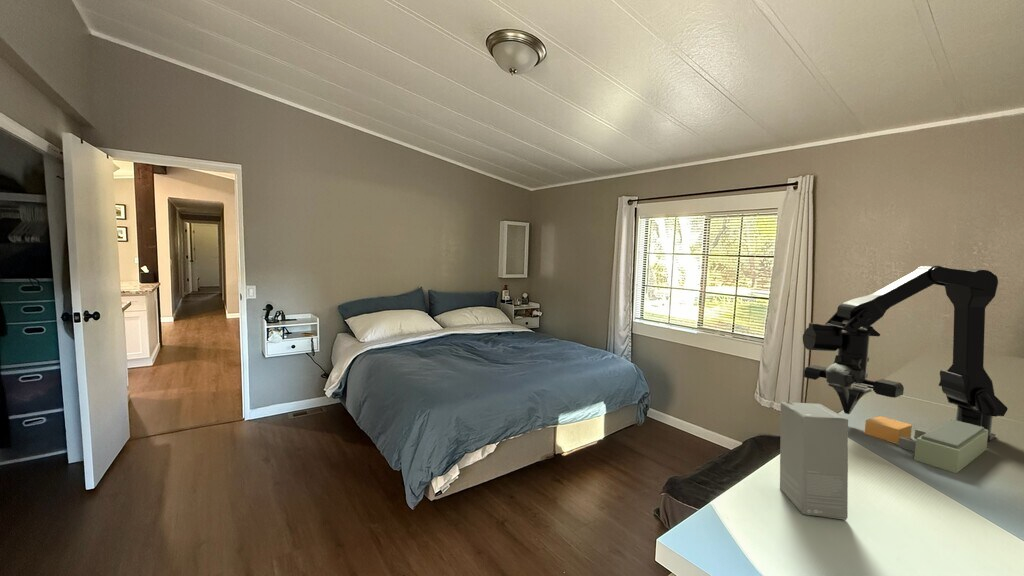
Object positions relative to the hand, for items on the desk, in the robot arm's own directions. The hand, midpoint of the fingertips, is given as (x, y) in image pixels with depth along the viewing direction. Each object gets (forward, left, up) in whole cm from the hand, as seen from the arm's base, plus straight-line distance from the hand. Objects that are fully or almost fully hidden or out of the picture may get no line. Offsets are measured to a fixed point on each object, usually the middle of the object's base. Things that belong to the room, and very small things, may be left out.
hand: (847, 413), depth 102 cm
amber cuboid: (0, +8, -3) cm, 9 cm away
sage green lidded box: (0, +16, -3) cm, 17 cm away
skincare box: (+49, +13, -3) cm, 51 cm away
